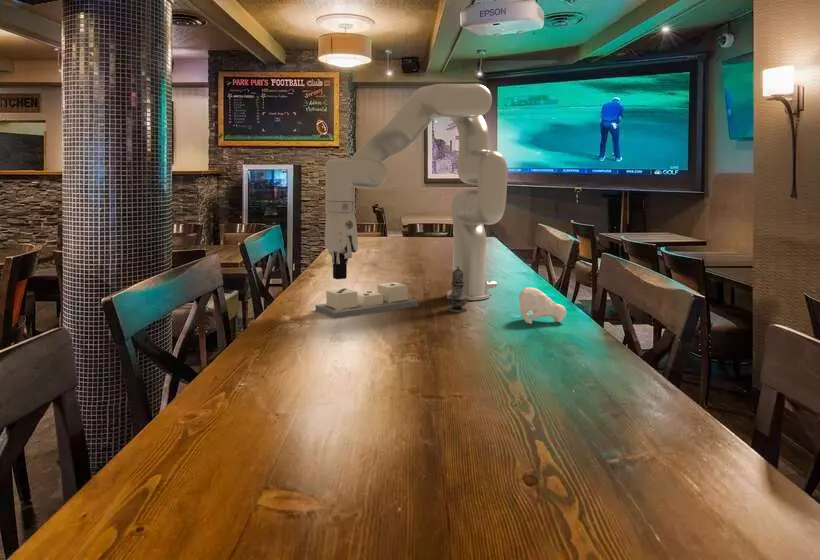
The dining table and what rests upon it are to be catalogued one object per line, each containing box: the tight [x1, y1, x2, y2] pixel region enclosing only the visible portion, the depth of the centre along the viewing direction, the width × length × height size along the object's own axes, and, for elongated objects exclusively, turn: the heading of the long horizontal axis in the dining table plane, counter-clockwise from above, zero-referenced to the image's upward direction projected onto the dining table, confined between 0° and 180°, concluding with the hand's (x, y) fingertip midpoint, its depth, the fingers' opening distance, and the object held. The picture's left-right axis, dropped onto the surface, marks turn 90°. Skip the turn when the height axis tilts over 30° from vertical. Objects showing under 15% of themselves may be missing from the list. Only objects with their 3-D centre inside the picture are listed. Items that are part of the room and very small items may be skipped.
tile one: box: [377, 281, 409, 303], centre depth 172 cm, size 6×6×4 cm
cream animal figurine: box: [518, 287, 567, 325], centre depth 154 cm, size 6×8×12 cm
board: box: [314, 297, 420, 319], centre depth 168 cm, size 11×26×2 cm, turn 125°
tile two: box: [357, 290, 383, 307], centre depth 168 cm, size 6×6×4 cm
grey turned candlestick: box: [446, 267, 468, 313], centre depth 166 cm, size 6×6×12 cm
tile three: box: [325, 287, 358, 311], centre depth 163 cm, size 6×6×4 cm
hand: (339, 278), depth 162 cm, fingers closed
